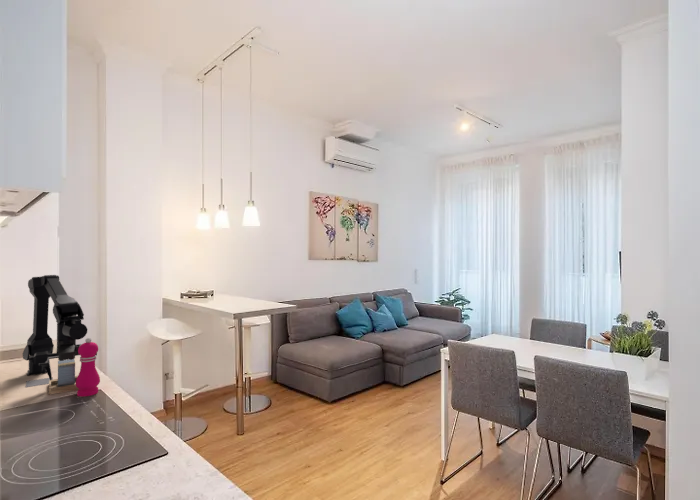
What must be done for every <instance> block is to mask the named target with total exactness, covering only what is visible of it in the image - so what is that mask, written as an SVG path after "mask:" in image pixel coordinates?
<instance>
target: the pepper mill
mask: <svg viewBox="0 0 700 500" xmlns="http://www.w3.org/2000/svg"><path fill="white" fill-rule="evenodd" d="M98 352H99V346H98V344H97V343H96V342H93V341H92V338H90V337H87V338H86V339H85V342H83V343H82V344H81V345H80V346H79V348H78V353H79V355H78V356H80V357H79V362H80V368H81V370H80V369H79V370H80V371H79V372H78V375H77V376H78V377H77V379H76V387H77V388H78V389H79V390H76V395H77V397H81V398H82V397H90V396H94V395H96V394H98V393H99V387H98V386H99V384H100V383H101V377H100V375H99V372H98V371H97V368H96V360H97V359H98V358H97V357H98ZM96 353H97V355H95V354H96Z"/></svg>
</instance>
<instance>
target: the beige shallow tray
mask: <svg viewBox="0 0 700 500" xmlns="http://www.w3.org/2000/svg"><path fill="white" fill-rule="evenodd" d="M77 377H78V375H75V384H72V385H66V386H60V387H58V378H53V380H49V384H48V395H54V394H60V393H67V392H71V391H72V392H73V391H78V390H79V389H78V388H77V387H76V379H77Z"/></svg>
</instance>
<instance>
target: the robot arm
mask: <svg viewBox="0 0 700 500" xmlns="http://www.w3.org/2000/svg"><path fill="white" fill-rule="evenodd" d="M27 286H28V287H27V288H29V294H31V295H32V297H33V299H34V300H33V302H34V303H33V318H32V319H33V320H32V321H33V323H32V334H30V336H29V337H28V339H27V342H26V344H25V347H24V349H23V351H22V359H23V360H25V361H28V370H27V372H26V376H32V375H40V374H47V375H48V376H47V377H48V378H50V380H52V375H53V374H52V368H51V363H50V360H52V359H53V360H54V359H58V360H57V361H64V360H69V359H70V360H72V359H74V360H75V359H76V356H80V355H79V353H78V348H79V346H80V345H82V344H81V343H79V344H77V340H81V339H83V338H85V337H86V335H87V334H88V327H87V326H86V324H83V323H82V321H83V320H84V315H85V314H84V312H83V309H82V306H81V304H80V303H78V301H77V300H76V298H74V297H71V296H69V294H68V293H67V291H66V289H65V288H64V286H63V284H62V283H61V280H60V276H59V275H57V274H46V275H45V274H44V275H41V276H32V277H31V278H30V279H28V281H27ZM50 298H51V300H52V302H53V303H54V304H53V307H52V314H53V316H54V319H55V322H56V352H54V346H55V344H54V342H53V338H52V337H51V336H50V335H49V333H48V328H49V327H48V324H49V323H48V322H49V303H50ZM53 352H54V353H53ZM95 355H97V356H98V352H97V353H96V354H95ZM79 370H81V367H80V369H79Z"/></svg>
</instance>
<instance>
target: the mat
mask: <svg viewBox="0 0 700 500" xmlns="http://www.w3.org/2000/svg"><path fill="white" fill-rule="evenodd" d="M49 380H50V378H49V377H47V378H39V379H32V380H27V381H26V382H25V387H24V388H31V387H37V386H43V385H49ZM52 380H54V378H53V377H52Z"/></svg>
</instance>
